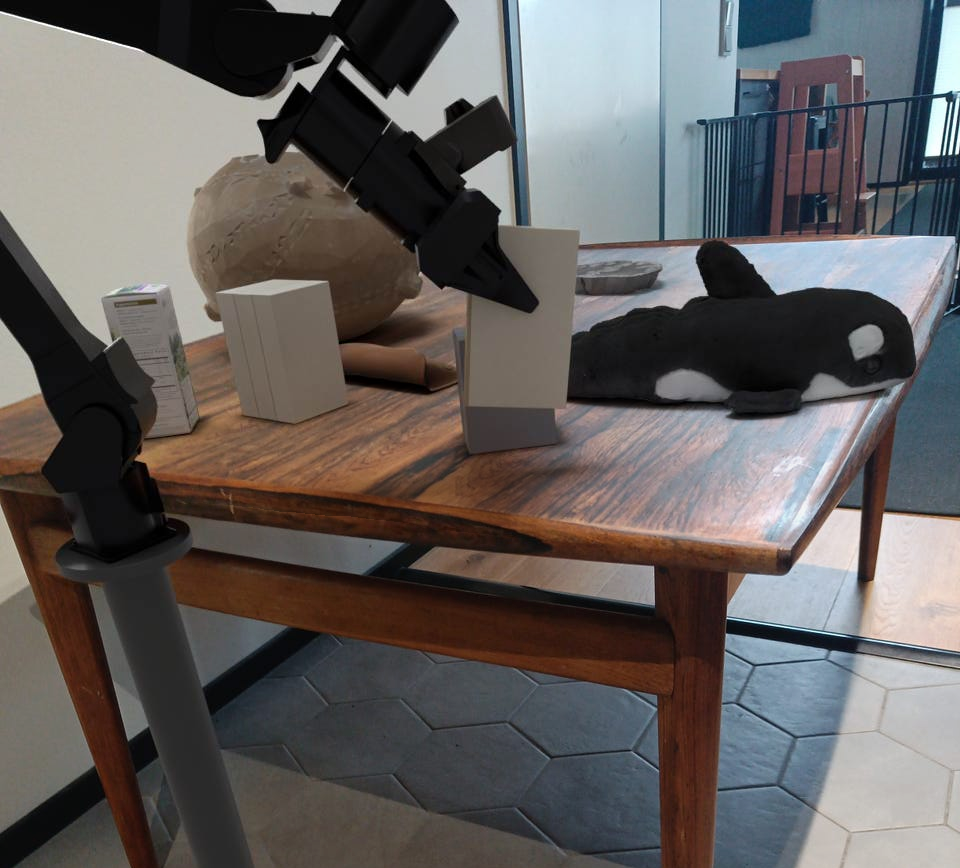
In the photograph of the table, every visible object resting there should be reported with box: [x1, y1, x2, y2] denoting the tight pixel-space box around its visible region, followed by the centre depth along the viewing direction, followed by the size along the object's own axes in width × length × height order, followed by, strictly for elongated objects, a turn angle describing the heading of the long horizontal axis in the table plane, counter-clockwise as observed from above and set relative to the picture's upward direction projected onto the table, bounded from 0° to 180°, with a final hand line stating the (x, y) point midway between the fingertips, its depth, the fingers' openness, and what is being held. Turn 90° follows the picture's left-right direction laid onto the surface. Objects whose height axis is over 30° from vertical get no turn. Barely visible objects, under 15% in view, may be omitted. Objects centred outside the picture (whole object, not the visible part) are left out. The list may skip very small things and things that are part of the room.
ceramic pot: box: [185, 151, 424, 343], centre depth 129 cm, size 33×34×25 cm
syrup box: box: [100, 283, 201, 439], centre depth 93 cm, size 6×6×14 cm
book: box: [464, 224, 581, 410], centre depth 69 cm, size 8×3×13 cm, turn 93°
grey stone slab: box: [575, 260, 664, 296], centre depth 151 cm, size 20×17×3 cm
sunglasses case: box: [339, 342, 458, 392], centre depth 106 cm, size 18×7×7 cm, turn 51°
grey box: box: [452, 326, 557, 455], centre depth 80 cm, size 8×6×10 cm
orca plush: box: [567, 239, 917, 414], centre depth 90 cm, size 21×41×14 cm, turn 61°
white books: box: [216, 280, 349, 425], centre depth 96 cm, size 8×9×13 cm
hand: (531, 304), depth 68 cm, fingers closed on book, 3 cm apart
